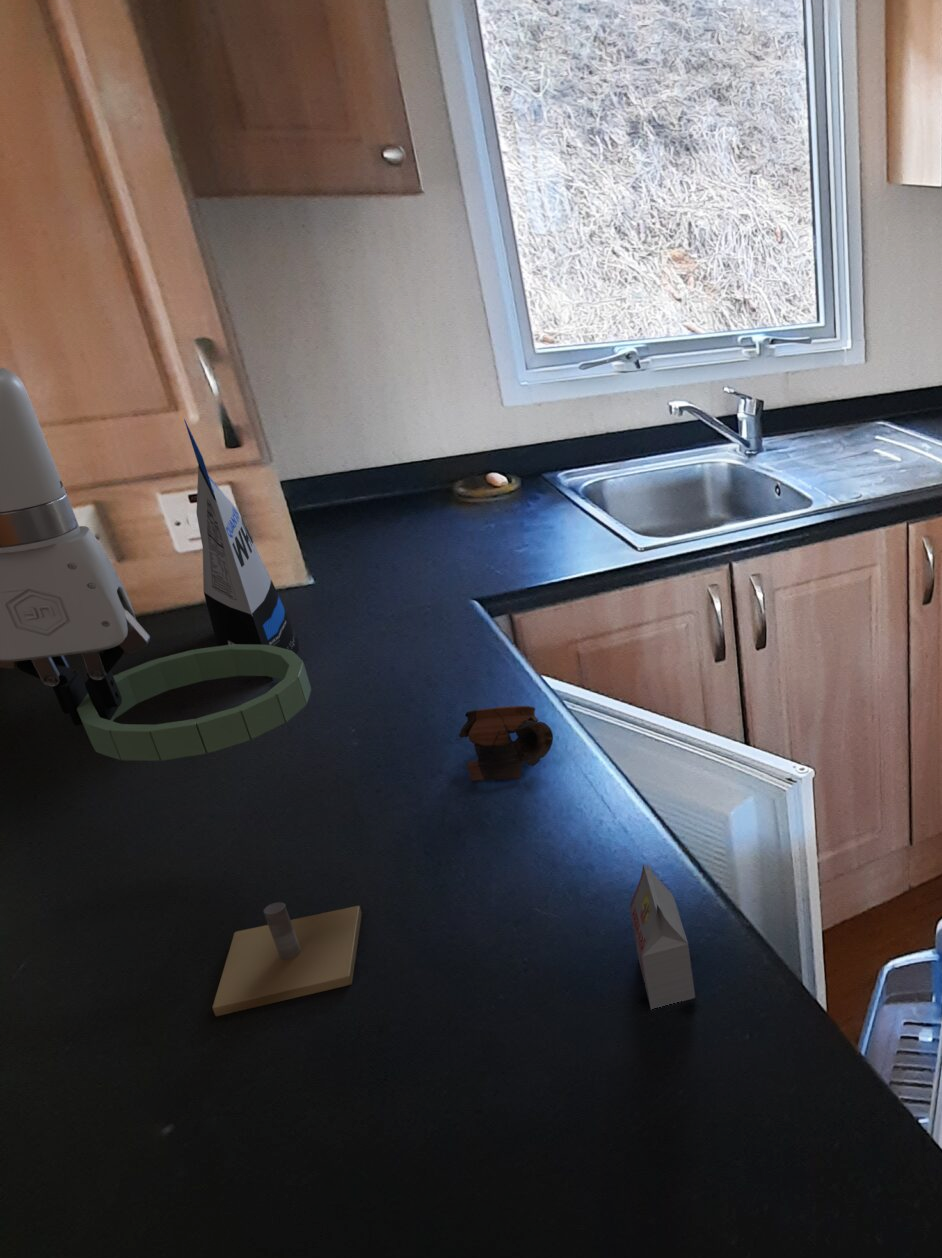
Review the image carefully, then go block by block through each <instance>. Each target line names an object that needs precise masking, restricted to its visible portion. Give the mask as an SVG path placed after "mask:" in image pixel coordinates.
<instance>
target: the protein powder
mask: <svg viewBox="0 0 942 1258" xmlns="http://www.w3.org/2000/svg"><path fill="white" fill-rule="evenodd" d="M183 420H184V424H185V427H186V430H187V433H188V436H189V440H190V443H191V446H192V449H193V452H194V455H195V458H196V459H195V460H196V462H197V465H198V466H197V486H196V487H197V490H196V519H197V523H198V529H199V535H200V540H201V545H202V546H201V547H202V578H203V579H202V581H203V583H202V584H203V586H202V587H203V588H202V589H203V595H204V599H205V603H206V606H207V611H208V614H209V618H210V622H211V626H212V630H213V634H214V638H215V643H216V647H217V646H224V645H232V644H233V645H235V644H248V645H272V646H276V647H280V648H283V649H287V650H291V651H293V652H294V653H295V654H296V655H297V654H298V652H299V650H300V645H299V639H298V636H297V634H296V632H295V630H294V628H293V625H292V623H291V621H290V619H289V616H288V614H287V611H286V609H285V607H284V605H283V603H282V600H281V598H280V596H279V594H278V591H277V589H276V586H275V585H274V582H273V580H272V578H271V576H270V574H269V571H268V570H267V568H266V565H265V563H264V561H263V559H262V557H261V555H260V552H259V551H258V548H257V547H256V545H255V543H254V540H253V538H252V536H251V533H250V532H249V529H248V528H247V525H246V523H245V522H244V520H243V517H242V516H241V513H240V511H239V510H238V509H237V507H236V506H235V505H234V503H233V502H232V501H231V500H230V499H229V497H228V496H227V495H226V494H225V493H224V492H223V491H222V490H221V489H220V487H219V486H218V485H217V484H216V483H215V481H214V480H213V479H212V478H211V477H210V476H209V474H208V470H207V467H206V463H205V461H204V457H203V455H202V453H201V451H200V449H199V447H198V444H197V442H196V440H195V438H194V436H193V433H192V432H191V429H190V427H189V425H188V424H187V421H186V419H185V418H183ZM259 677H262V678H269V679H271V681H274V678H272V677H268V676H259Z"/></svg>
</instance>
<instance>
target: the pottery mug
mask: <svg viewBox="0 0 942 1258" xmlns="http://www.w3.org/2000/svg"><path fill="white" fill-rule="evenodd" d="M535 711H536V708H535V706H529V705H511V706H497V707H489V708H482V709H481V708H480V709H473V710H469V711H466V712H465V714H464V717H466V718H467V721H466V723H464V724H463V726H462V727H461V729H460V732H459V733H458V736H459V738H462V739H463V738H467V737H468V740H469V742H470V743H472V744H473V745H474V751H475V754H476V757H477V759H476V760H473V761H468V762H466V769H467V771H468V774H469V777H470V781H471V782H483V781H504V780H505V781H506V780H514V779H515V780H516V779H521V778H522V776H523V772H522V769H523V763H525V764H526V765H527V766H529V767H534V766H536V765H537V764H538V763H539V762H540V760H541V759H542V758H544V757H545V756H546V755H547V754H548V753H549V751H550V750H551V747H552V745H553V741H554V734H553V731H552V729H551V727H550V726H549V725H548V724H546V722H544V721H539V718H537V716H536V713H535ZM514 733H515V734H516V736H517V738H515V740H513V739H512V738H511V735H510V734H514Z"/></svg>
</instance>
